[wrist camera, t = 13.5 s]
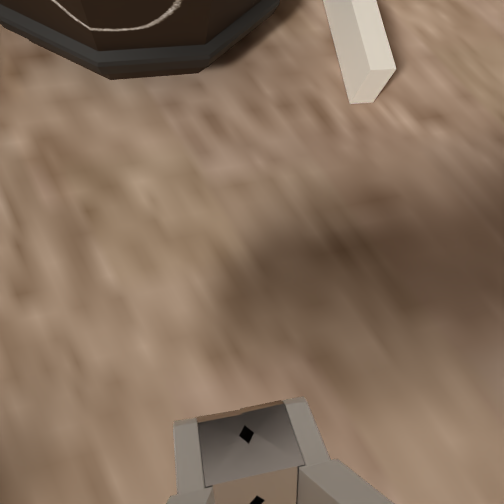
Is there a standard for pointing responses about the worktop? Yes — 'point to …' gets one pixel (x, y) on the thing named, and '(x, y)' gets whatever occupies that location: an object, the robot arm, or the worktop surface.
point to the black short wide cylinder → (136, 32)
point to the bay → (360, 47)
